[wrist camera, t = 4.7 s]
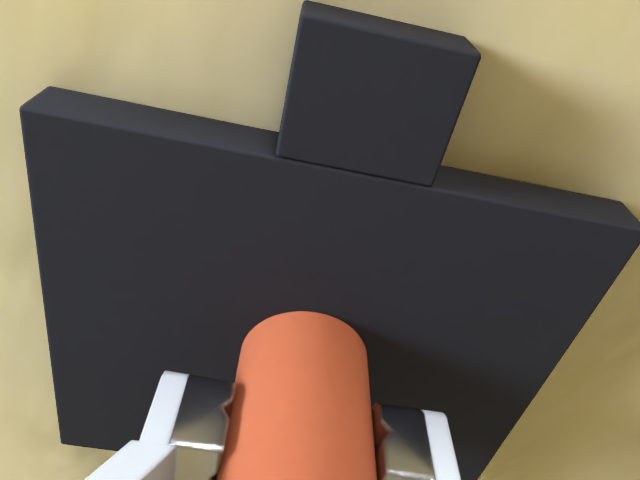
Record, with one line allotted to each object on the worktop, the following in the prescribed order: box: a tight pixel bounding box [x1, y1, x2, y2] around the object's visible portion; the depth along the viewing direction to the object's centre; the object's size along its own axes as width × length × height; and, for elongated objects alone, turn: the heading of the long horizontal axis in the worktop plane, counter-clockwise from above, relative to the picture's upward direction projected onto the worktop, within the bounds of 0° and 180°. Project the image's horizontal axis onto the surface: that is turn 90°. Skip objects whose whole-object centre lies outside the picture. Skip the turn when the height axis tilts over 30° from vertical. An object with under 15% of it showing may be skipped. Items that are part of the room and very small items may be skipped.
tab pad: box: [20, 0, 640, 480], centre depth 10 cm, size 12×12×5 cm
